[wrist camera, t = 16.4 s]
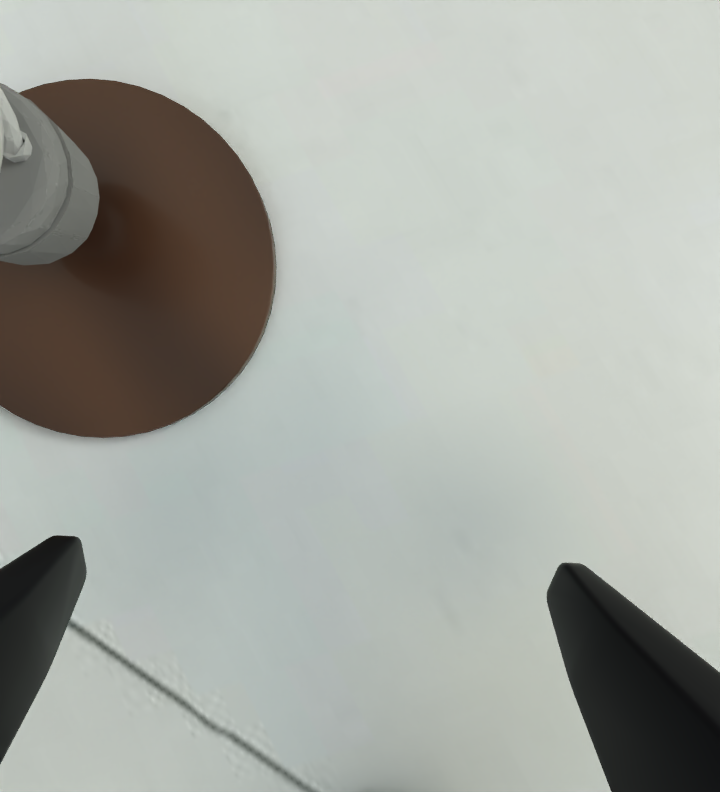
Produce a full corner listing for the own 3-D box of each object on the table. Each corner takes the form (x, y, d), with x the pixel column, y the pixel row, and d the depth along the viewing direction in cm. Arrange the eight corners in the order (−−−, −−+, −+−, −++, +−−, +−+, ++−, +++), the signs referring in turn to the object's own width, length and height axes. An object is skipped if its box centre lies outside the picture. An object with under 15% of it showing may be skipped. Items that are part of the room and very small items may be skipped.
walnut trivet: (142, 501, 21) (136, 505, 20) (-140, 295, 20) (-156, 293, 19) (344, 236, 20) (344, 232, 19) (63, 11, 19) (54, 0, 18)
